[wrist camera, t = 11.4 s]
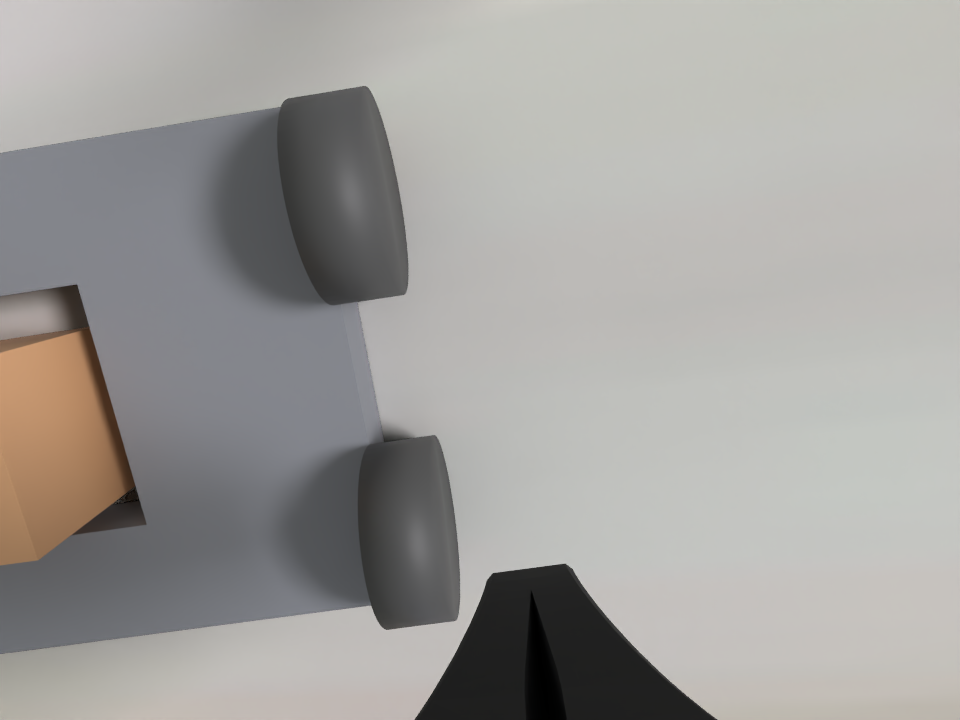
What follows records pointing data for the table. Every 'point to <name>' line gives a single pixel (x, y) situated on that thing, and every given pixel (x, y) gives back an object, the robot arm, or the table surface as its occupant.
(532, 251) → the table surface
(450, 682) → the robot arm
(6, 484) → the block
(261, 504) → the chassis
